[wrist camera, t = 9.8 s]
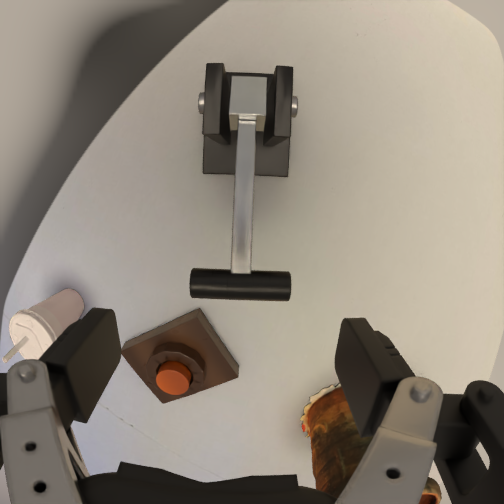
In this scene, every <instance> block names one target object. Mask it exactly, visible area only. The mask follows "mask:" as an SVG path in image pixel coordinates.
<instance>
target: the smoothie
mask: <svg viewBox="0 0 504 504" xmlns="http://www.w3.org/2000/svg"><path fill="white" fill-rule="evenodd" d="M83 311H84V302H83V299H82V297H81V296H80V295H79V294H78V293H77V292H76V291H75V290H73V289H64V290H63V291H61V292H59V293H57V294H55V295H53V296H51V297H49V298H48V299H46V300H44V301H42V302H40V303H38V304H37V305H35V306H33V307H31V308H29V309H27V310H26V309H24V310H20V311H18V312H17V313H16V314H15V315H14V316H13V317H12V318H11V320H10V323H9V331H10V336H11V339H12V341H13V343H14V345H15V346H14V347H13V348H12V349H11V350H10V351H9V352H8V353H7V354H6V355H5V356H4V357H3V361H4V362H5V363H7V362H8V361H9V360H10V359H11V358H12V357H13V356H14V355H15V354H16V353H17V352H18V351H19V353H20V354H21V355H22V356H23V357H24V358H25V359H37V360H38V359H39V358H40V357H41V356H42V355H43V353H44V352H45V351H46V350H47V349H48V348H49V347H50V346H51V344H52V343H53V342H54V341H56V340H57V338H58V337H59V336H60V335H61V334H62V332H63V331H64V330H65V329H66V328H67V327H68V326H69V325H70V324H72V323H74V322H76V321H77V320H78V319H79V317H80V316H81V314H82V313H83Z"/></svg>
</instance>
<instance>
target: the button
mask: <svg viewBox="0 0 504 504" xmlns="http://www.w3.org/2000/svg"><path fill="white" fill-rule="evenodd" d="M190 380H191V373H190V370H189V369H188V368H187V367H186V366H185V365H184V364H182V363H180V362H177V361H167V362H165V363H163V364H162V365H161V366H160V369H159V371H158V374H157V377H156V382H157V385H158V386H159V388H160V389H161V390H163V391H164V392H166V393H168V394H172V395H180V394H183V393H185V392H186V391H187V390H188V388H189V384H190Z"/></svg>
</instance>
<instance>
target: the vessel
mask: <svg viewBox="0 0 504 504" xmlns="http://www.w3.org/2000/svg"><path fill="white" fill-rule="evenodd" d="M309 398H310V401H311V403H310V404H308V405H307V406H305V407H304V412H305V415H303V416H302V417H301V420H304V422H303V424H302V429H303V432H305V431H307V432H308V436H306V437H309V436H310V437H311V449H312V466H313V475H314V477H315V479H316V490H320V491H323V492H325V493H328V494H330V495H332V496H334V497H336V498H339V496H340V494H341V493H342V491H343V490H344V488H345V487H346V485H347V483H348V482H349V480H350V478H351V477H352V475H353V473H354V472H355V470H356V468H357V466H358V465H359V463H360V461H361V459H362V458H363V456H364V454H365V452H366V450H367V448H368V447H369V445H370V443H371V441H372V439H373V436H371V437H364V438H360V435H359V432H358V429H357V427H356V424H355V421H354V419H353V416H352V413H351V411H350V408H349V405H348V403H347V400H346V397H345V395H344V392H343V389H342V387H341V384H340V383H339V384H338V386H337V387H336V388H335V387H334V386H333V385H331V386H330V387H329V388H323V389H322V390H321V391H320V392H319V393H318V394H316V395H314V396H311V397H309ZM301 420H300V421H301ZM441 498H442V497H441V491H440V487H439V485H438V483H437V482H436V481H435V480H434V479H432V478H430V477H428V478H427V481H426V484H425V487H424V490H423V493H422V496H421V499H420V501H419V504H439V503H440V501H441Z"/></svg>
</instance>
